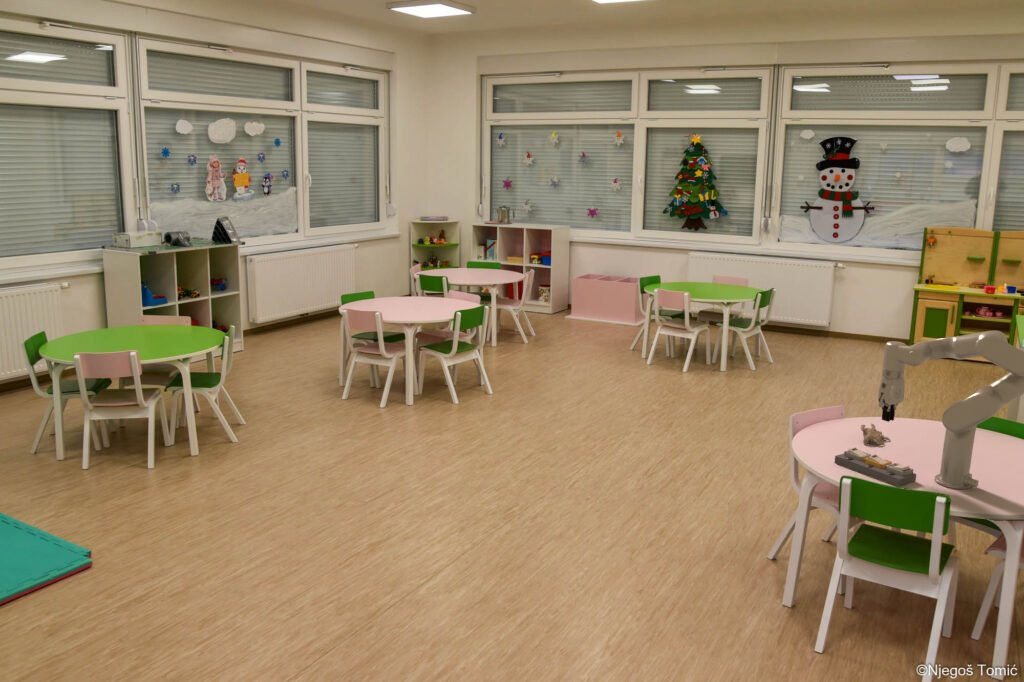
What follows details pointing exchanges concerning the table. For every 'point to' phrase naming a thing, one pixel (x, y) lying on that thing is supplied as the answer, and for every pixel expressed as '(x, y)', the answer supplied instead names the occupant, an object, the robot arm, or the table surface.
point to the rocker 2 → (900, 467)
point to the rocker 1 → (857, 452)
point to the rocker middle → (877, 459)
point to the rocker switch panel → (876, 469)
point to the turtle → (873, 435)
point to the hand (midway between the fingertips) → (887, 419)
